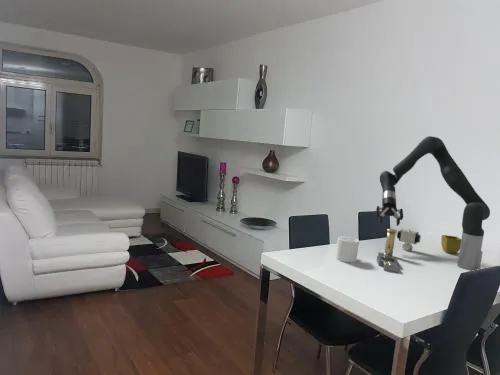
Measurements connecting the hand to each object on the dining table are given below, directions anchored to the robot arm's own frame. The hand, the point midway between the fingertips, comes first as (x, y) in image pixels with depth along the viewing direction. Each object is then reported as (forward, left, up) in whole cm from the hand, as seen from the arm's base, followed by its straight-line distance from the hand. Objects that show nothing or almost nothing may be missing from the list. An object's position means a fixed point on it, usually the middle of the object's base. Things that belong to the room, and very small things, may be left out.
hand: (389, 223), depth 213 cm
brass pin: (0, +9, -15) cm, 18 cm away
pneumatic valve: (-13, -10, -16) cm, 22 cm away
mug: (+22, +27, -16) cm, 38 cm away
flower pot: (-38, -18, -16) cm, 45 cm away
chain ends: (+3, +26, -15) cm, 31 cm away
